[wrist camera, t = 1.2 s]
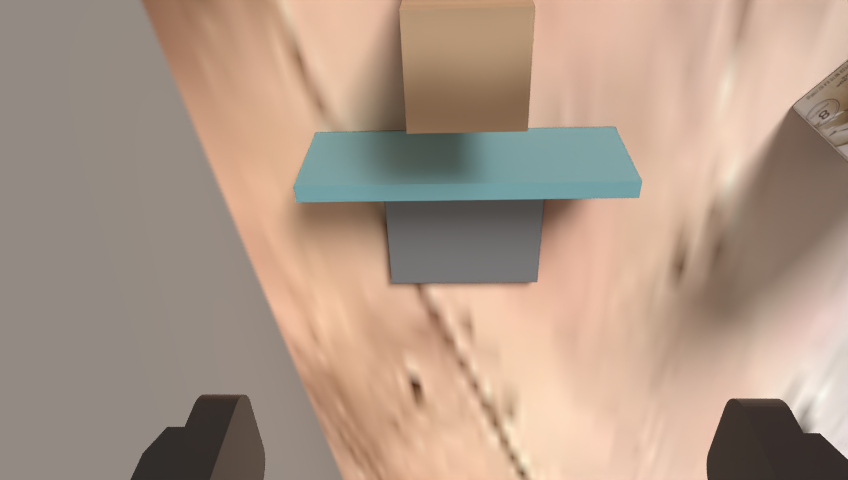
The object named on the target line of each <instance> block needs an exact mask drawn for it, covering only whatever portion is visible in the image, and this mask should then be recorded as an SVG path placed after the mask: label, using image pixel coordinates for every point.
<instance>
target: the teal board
mask: <svg viewBox="0 0 848 480" xmlns="http://www.w3.org/2000/svg"><path fill="white" fill-rule="evenodd" d="M641 184H642V180H641V178H640V176H639V174H638V172H637V170H636V168H635V166H634V164H633V162H632V160H631V158H630V156H629V154H628V152H627V150H626V148H625V146H624V144H623V142H622V140H621V138H620V136H619V134H618V132H617V130H616V127H575V128H528V131H527V132H474V133H421V134H407V133H406V131H368V132H317V133H315V135H314V138H313V140H312V143H311V145H310V148H309V150H308V152H307V155H306V157H305V160H304V162H303V165H302V167H301V169H300V172H299V174H298V177H297V179H296V182H295V184H294V191H295V197H296V202H366V201H441V200H516V199H591V198H639V195H640V189H641Z"/></svg>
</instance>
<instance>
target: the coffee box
mask: <svg viewBox="0 0 848 480" xmlns="http://www.w3.org/2000/svg"><path fill="white" fill-rule="evenodd" d="M793 108H794V110H795V111H796V112H797V113H798V114H799V115H800V116H801V117H802V118H803V119H804V120H805V121H806V122H807V123H809V124H810V125H811V126H812V127H813V128H814V129H815V130H816V131H817V132H818V133H819V134H820V135H821V136H822V137H823V138H824V139H825V140H826V141H827V142H828V143H829V144H830V145H831V146H832V147H833V148H834V149H835V150H836V151H837V152H838V153H839V154H840V155H841V156H842V157H843V158H844V159H845V160H846V161H847V162H848V61H847V62H846V63H844V64H843V65H842V66H841V67H840V68H838V69H837V70H836V71H835V72H833V73H832V74H831V75H830V76H829V77H827V78H826V79H825V80H823V81H822V82H821V83H820V84H819V85H817V86H816V87H815V88H814V89H812V90H811V91H810V92H809V93H808V94H806V95H805V96H804V97H803V98H802V99H800V100H799V101H798V102H797V103H796V104H795V105H794V106H793Z"/></svg>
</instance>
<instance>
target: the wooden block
mask: <svg viewBox="0 0 848 480" xmlns="http://www.w3.org/2000/svg"><path fill="white" fill-rule="evenodd" d="M399 15H400V32H401V49H402V65H403V82H404V99H405V116H406V133H407V134H421V133H474V132H527V131H528V116H529V99H530V83H531V66H532V50H533V34H534V17H535V5H534V2H533V0H402V1H401V5H400V9H399Z"/></svg>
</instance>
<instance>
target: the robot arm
mask: <svg viewBox="0 0 848 480" xmlns="http://www.w3.org/2000/svg"><path fill="white" fill-rule="evenodd" d="M264 470H265V453H264V447H263V444H262V440H261V437H260V434H259V430H258V427H257V423H256V420H255V417H254V413H253V410H252V406H251V403H250V400H249V398H248V397H247V395H201V396H200V397H199V398H198V399H197V400H196V402H195V404H194V406H193V409H192V411H191V413H190V416H189V418H188V420H187V423H186V425H185V427H167V428H166V429H165V430H164V431H163V432H162V433H161V434H160V435H159V437H158V438H157V439H156V440H155V441H154V442H153V443H152V444H151V445H150V446H149V447H148V448H147V450H145V452H144V453H143V454H142V456H141V459H140V461H139V463H138V465H137V467H136V469H135V471H134V473H133V476H132V478H131V480H263V478H264ZM707 477H708V480H848V459H847V458H845V457H844V456H843V455H842V454H841V453H840V452H839V451H838V450H837V449H836V448H835V447H834V446H833V445H832V444H831V443H829V442H828V441H827V440H826V439H825V438H824V437H823V436H822V435H821V434H820V433H803V431H802V430H801V428H800V426H799V424H798V422H797V421H796V419H795V417H794V415H793V413H792V411H791V410H790V408H789V407H788V405H787V404H786V403H785V402H784V401H782V400H780V399H730V400H729V401H728V402H727V404H726V406H725V408H724V411H723V414H722V417H721V419H720V422H719V425H718V428H717V430H716V433H715V436H714V439H713V441H712V444H711V447H710V450H709V452H708V456H707Z"/></svg>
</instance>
